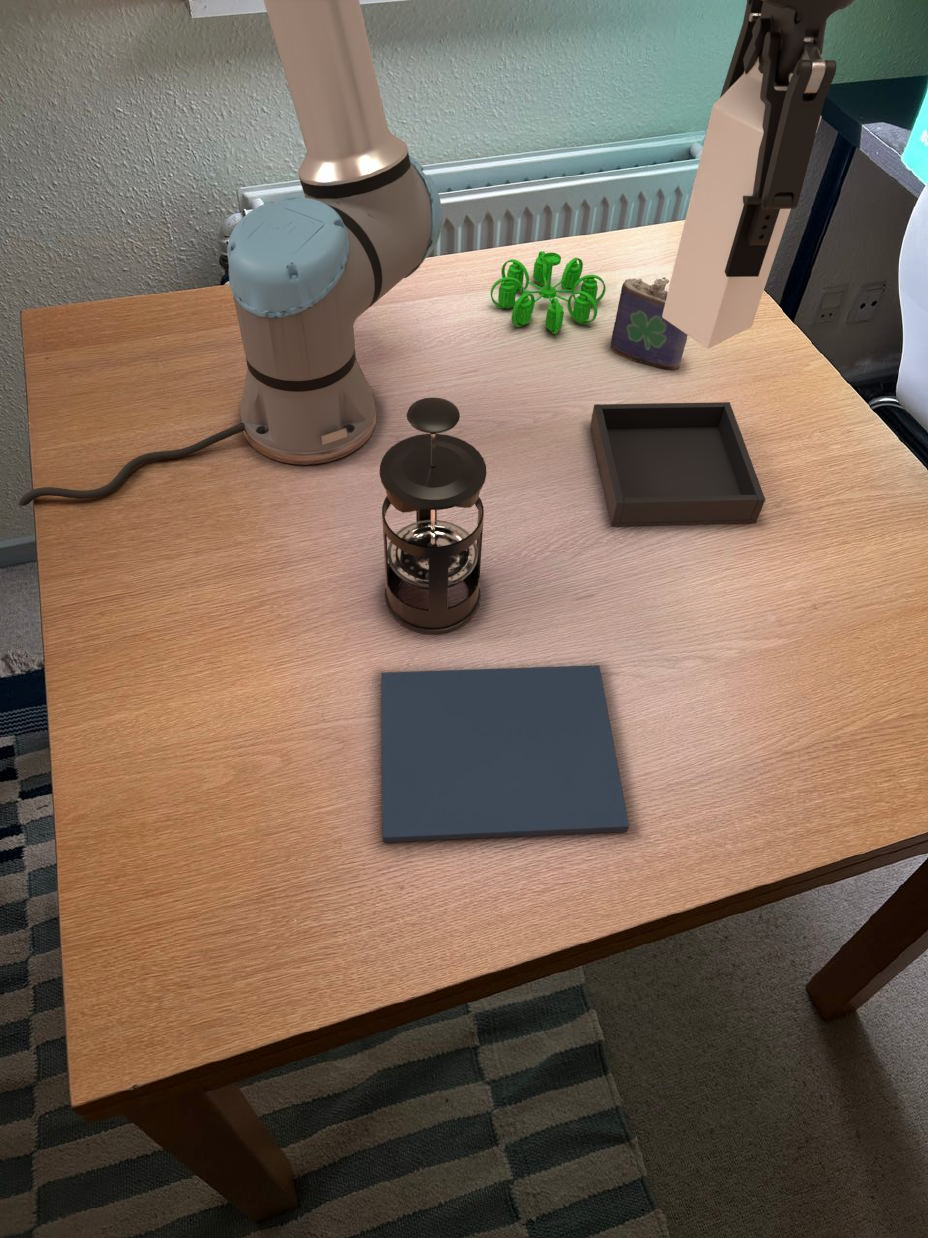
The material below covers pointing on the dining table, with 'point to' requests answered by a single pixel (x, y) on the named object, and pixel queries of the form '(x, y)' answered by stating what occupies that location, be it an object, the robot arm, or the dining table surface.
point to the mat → (498, 754)
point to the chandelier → (548, 291)
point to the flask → (646, 326)
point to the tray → (674, 464)
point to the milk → (722, 222)
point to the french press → (432, 519)
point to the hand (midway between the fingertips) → (728, 244)
